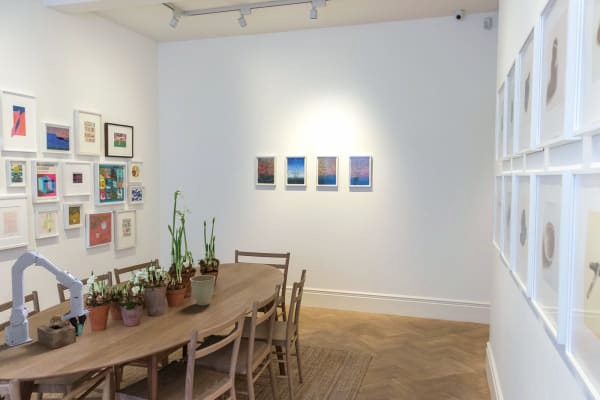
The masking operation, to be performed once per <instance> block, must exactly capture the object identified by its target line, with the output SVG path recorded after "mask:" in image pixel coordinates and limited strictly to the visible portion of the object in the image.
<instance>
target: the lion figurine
mask: <svg viewBox="0 0 600 400" xmlns="http://www.w3.org/2000/svg"><path fill="white" fill-rule="evenodd" d="M70 313H71V309H70V310H69V311H67V312H65V314H62V315H59V314H55V315H53V316H52V317H51V318H50V322H49V324H50V323H54V322H58V321H62V319H61V316H65V315H67V314H70ZM63 322H65V323H67V324H69V325H71V326H72V324H71V323H70V321H69V319H68V320H65V321H63Z"/></svg>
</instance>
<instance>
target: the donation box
mask: <svg viewBox="0 0 600 400" xmlns="http://www.w3.org/2000/svg"><path fill="white" fill-rule="evenodd" d="M36 329H37V333H36V334H37V342H39V343H40V344H42V345H44V346H45V347H47V348H49V349H51V350H53V349H57V348H59V347H62V346H66V345H69V344H73V343H76V342H77V341H76V340H77V337H76V335H77V334H76V333H75V327H73V326H72V324H71V325H69V324H68V323H67V322H63V321H57V322H54V323H52V322H51V323H50V322H49V323H46V324H43V325H38V326H37V327H36Z"/></svg>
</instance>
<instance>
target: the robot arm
mask: <svg viewBox="0 0 600 400" xmlns="http://www.w3.org/2000/svg"><path fill="white" fill-rule="evenodd" d="M30 266H35V267H42V268H44V269H45V270H47V271H49V272H50V273H52V275H54V276H55V280H56V281H57V282H59V283H60V284H62V285H63V286H64V287H65V288H68V291H69V292H70V297H69V298H70V299H69V300H70V303H69V304H70V310H71V313H70V314H67V315H65V314H64V315H65V316H61V319H62V321H65V320H68V319H69V321H70V324H71V326H73V327H75V332H77V323H80V324H82V330H84V325H85V322H86V320H87V317H88V316H87V315H90V314H89V312H90V311H88V310H89V309H85V308H84V294H83V293H84V292H83V287H84V284H83V283H84V282H83V281H82V280H81V279H78V278H77V277H75V276H73V274H71V273H70V271H69V270H65V269H64V270H63V269H62V270H61V269H60V268H59V267H57V266H56V265H55V264H54V263H52V262H51V261H50V260H49V259H48V258H47V257H46V256H44V255H43V254H42V253H39V252H38V251H37V250H35V249H29V250H27V251H25V252H24V253H23V254H22V255H20V256H19V257H18V258H17V259H16V261H15V262H14V263H13V265H12V267H11V294H12V295H11V296H12V307H11V311H10V315H9V318H8V320H9V325H7V326H5V328H4V344H5V345H7V346H9V347H15V346H17V345H22V344H25V343H28V342H29V343H30V342H32V341H33V339H32V338H30V334H29V333H30V332H29V331H30V329H29V320H28V318H27V317H28V316H29V310H28V308H27V304H26V300H25V296H26V294H25V273H24V272H25V270H26V269H27V268H29V267H30ZM84 309H85V310H84Z"/></svg>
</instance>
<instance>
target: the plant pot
mask: <svg viewBox="0 0 600 400" xmlns="http://www.w3.org/2000/svg"><path fill="white" fill-rule="evenodd" d="M215 281H216V276H214V275H209V274H208V275H207V274H206V275H205V274H204V275H196V276H192V277H190V278H189V282H190V286H191V287H190V288H191V291H192V294H193V298H194V301H195V302H196V304H197V306H207V305H209V304H210V302H211V300H212V297H213V293H214V288H215Z"/></svg>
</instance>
